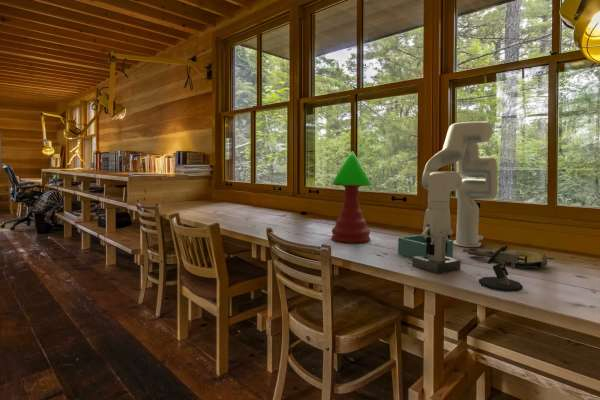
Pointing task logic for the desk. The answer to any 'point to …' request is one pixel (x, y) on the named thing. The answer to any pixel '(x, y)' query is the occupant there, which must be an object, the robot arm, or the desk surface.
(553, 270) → the desk surface
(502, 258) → the gun turret
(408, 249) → the teal bin
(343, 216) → the table lamp
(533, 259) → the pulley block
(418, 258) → the steel collar
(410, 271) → the desk surface
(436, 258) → the energy drink can
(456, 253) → the desk surface
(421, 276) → the desk surface
